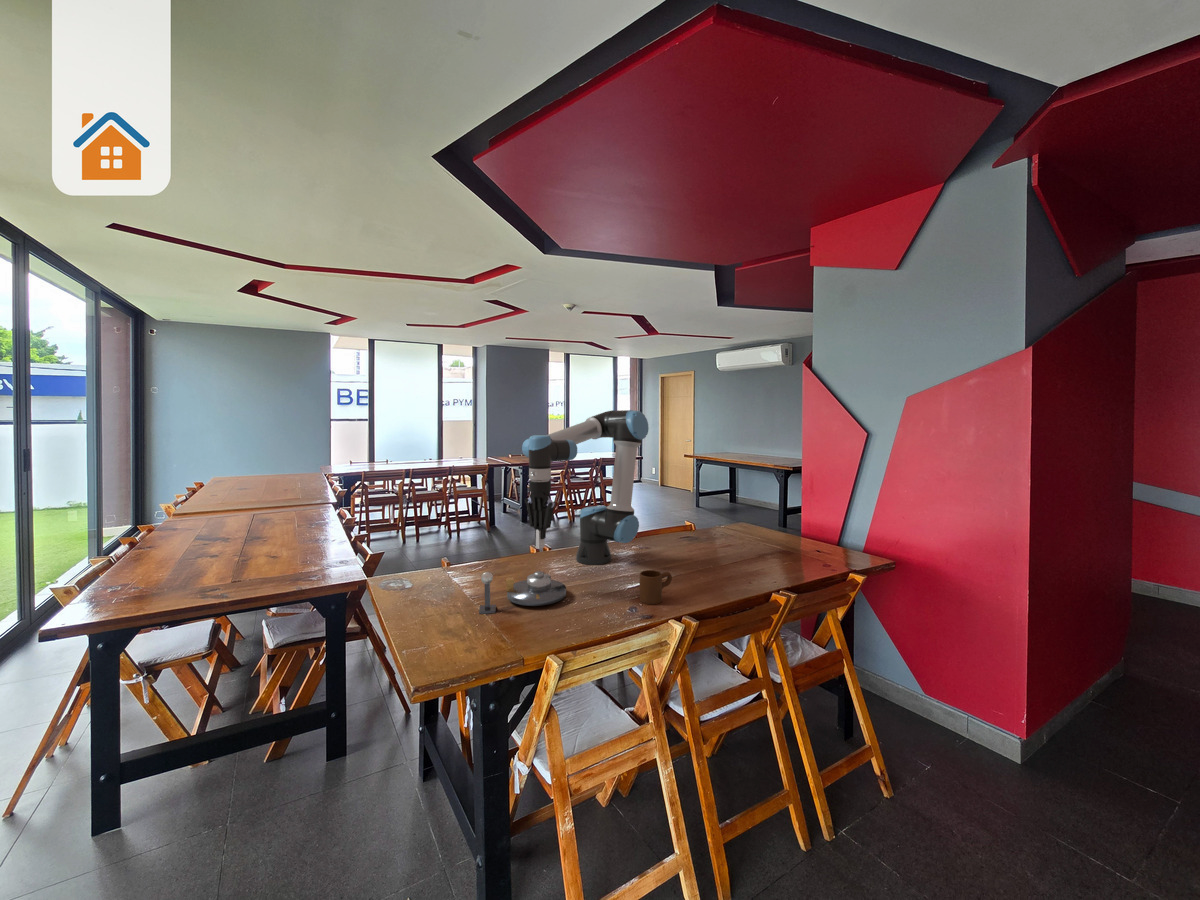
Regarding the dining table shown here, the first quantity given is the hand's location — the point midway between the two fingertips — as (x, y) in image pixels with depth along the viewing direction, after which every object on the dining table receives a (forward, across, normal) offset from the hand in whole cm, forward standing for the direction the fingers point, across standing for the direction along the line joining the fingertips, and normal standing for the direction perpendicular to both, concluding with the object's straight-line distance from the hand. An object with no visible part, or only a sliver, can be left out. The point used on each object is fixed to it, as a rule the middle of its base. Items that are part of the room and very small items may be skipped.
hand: (540, 547), depth 170 cm
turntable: (+15, +1, -3) cm, 16 cm away
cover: (+13, +2, -2) cm, 14 cm away
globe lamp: (+17, -4, -20) cm, 27 cm away
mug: (+17, +35, +20) cm, 44 cm away
